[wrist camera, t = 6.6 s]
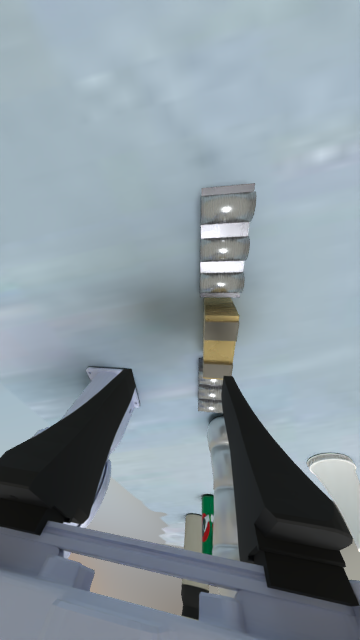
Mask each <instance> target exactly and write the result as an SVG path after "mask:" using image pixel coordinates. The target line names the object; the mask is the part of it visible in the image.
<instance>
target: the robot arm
mask: <svg viewBox="0 0 360 640" xmlns="http://www.w3.org/2000/svg"><path fill="white" fill-rule="evenodd" d="M86 371H87V373H88V376H89V378H90V380H91V382H90V383H89V384H88V386H87V387H86V388H85V390H84V391H83V392H82V393H81V395H80V396H79V397H78V398H77V400H76V401H75V402H74V403H73V405H72V406H71V407H70V409H69V410H68V411H67V412H66V414H65V415H64V416H63V417H62V419H61V420H60V421H59V422H57V423H56V424H54V425H53V426H51V427H47V428H45V429H42V430H39V431H38V432H37V433H36V434H35V435H34V436H33V437H32V438H31V439H29V440H27V441H25V442H23V443H21V444H20V445H17V446H16V447H14V448H12V449H10V450H8V451H6V452H5V453H4V454H3V455H2V457H1V458H0V640H360V581H357V580H348V577H347V575H346V573H345V571H344V568H343V567H346V566H345V562H344V560H343V557H342V555H341V553H340V551H339V550H341V549H343V548H345V547H347V546H349V545H350V544H352V539H353V538H352V536H351V534H350V532H349V530H348V528H347V526H346V524H345V522H344V520H343V518H342V517H341V515H340V513H339V512H338V510H337V508H336V507H335V505H334V503H333V502H332V501H331V500H330V499H329V498H328V497H327V496H326V495H325V494H324V493H323V492H322V491H321V490H320V489H319V488H318V487H317V486H316V485H315V484H314V483H313V482H312V481H311V480H310V479H309V478H308V477H307V476H306V475H305V474H304V473H303V471H302V470H301V469H300V468H299V467H298V466H297V465H296V464H295V463H294V462H293V461H292V460H291V458H290V457H289V456H288V455H287V454H286V453H285V452H284V451H283V449H282V448H281V447H280V446H279V445H278V444H277V442H276V441H275V440H274V439H273V438H272V436H271V435H270V434H269V433H268V431H267V430H266V429H265V427H264V426H263V425H262V423H261V422H260V421H259V419H258V418H257V416H256V415H255V414H254V412H253V411H252V409H251V408H250V406H249V404H248V403H247V401H246V400H245V398H244V396H243V395H242V393H241V391H240V389H239V388H238V386H237V384H236V382H235V380H234V378H233V377H232V376H224V377H223V384H222V391H221V399H222V410H223V415H224V421H225V426H226V432H227V437H228V442H229V449H230V457H231V466H232V476H233V487H234V498H235V509H236V522H237V534H238V548H239V558H240V561H237V560H232V559H227V558H223V557H218V556H213V555H208V554H204V553H199V552H194V551H190V550H185V549H180V548H175V547H171V546H166V545H161V544H157V543H152V542H147V541H142V540H137V539H133V538H128V537H123V536H119V535H114V534H110V533H105V532H100V531H95V530H91V529H86V527H87V526H88V525H89V524H90V522H91V521H92V519H93V518H94V516H95V514H96V513H97V511H98V509H99V507H100V505H101V503H102V501H103V499H104V496H105V494H106V491H107V488H108V485H109V481H110V477H111V461H110V460H109V459H108V458H109V455H110V454H111V453H112V452H113V451H114V450H115V449H116V448H117V446H118V445H119V443H120V442H121V439H122V437H123V435H124V432H125V430H126V427H127V425H128V422H129V420H130V417H131V415H132V412H133V410H134V408H139V407H140V403H139V399H138V395H137V391H136V386H135V382H134V378H133V374H132V369H109V368H94V367H88V368H87V369H86ZM71 552H72V553H76V554H80V555H84V556H88V557H93V558H97V559H101V560H105V561H110V562H114V563H118V564H123V565H127V566H131V567H135V568H140V569H144V570H148V571H152V572H156V573H160V574H165V575H169V576H173V577H177V578H182V579H186V580H190V581H194V582H199V583H203V584H207V585H211V586H215V587H220V588H224V589H228V590H232V591H237V593H236V594H235V597H234V598H231V597H228V596H223V595H217V594H210V593H205V592H201V593H200V594H199V620H198V621H197V620H193V619H189V618H186V617H182V616H178V615H175V614H171V613H167V612H164V611H160V610H156V609H153V608H149V607H145V606H141V605H138V604H134V603H130V602H126V601H122V600H119V599H115V598H112V597H108V596H104V595H100V594H96V593H93V592H90V586H91V583H92V580H93V577H94V574H95V572H94V570H93V569H90V568H87V567H85V566H83V565H82V564H81V563H79V562H76V561H73V560H69V559H68V557H69V556H70V554H71Z"/></svg>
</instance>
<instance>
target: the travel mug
mask: <svg viewBox="0 0 360 640" xmlns="http://www.w3.org/2000/svg"><path fill="white" fill-rule="evenodd" d="M184 549H185V550H190V551H194V552H199V553H202V516H201V515H198V514H188V515H187V516H186V523H185V540H184ZM201 592H205V593H209V585H207V584H203V583H199V582H194V581H190V580H186V579H182V591H181V595H182V601H183V610H182V617H186V618H189V619H193V620H197V621H198V620H199V594H200V593H201Z"/></svg>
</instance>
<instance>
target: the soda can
mask: <svg viewBox="0 0 360 640" xmlns="http://www.w3.org/2000/svg"><path fill="white" fill-rule="evenodd" d="M213 523H214V496H213V495H204V496H203V497H202V553H204V554H208V555H212V549H213Z"/></svg>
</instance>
